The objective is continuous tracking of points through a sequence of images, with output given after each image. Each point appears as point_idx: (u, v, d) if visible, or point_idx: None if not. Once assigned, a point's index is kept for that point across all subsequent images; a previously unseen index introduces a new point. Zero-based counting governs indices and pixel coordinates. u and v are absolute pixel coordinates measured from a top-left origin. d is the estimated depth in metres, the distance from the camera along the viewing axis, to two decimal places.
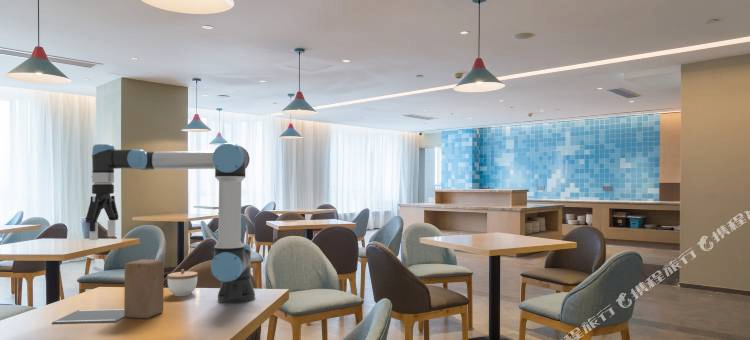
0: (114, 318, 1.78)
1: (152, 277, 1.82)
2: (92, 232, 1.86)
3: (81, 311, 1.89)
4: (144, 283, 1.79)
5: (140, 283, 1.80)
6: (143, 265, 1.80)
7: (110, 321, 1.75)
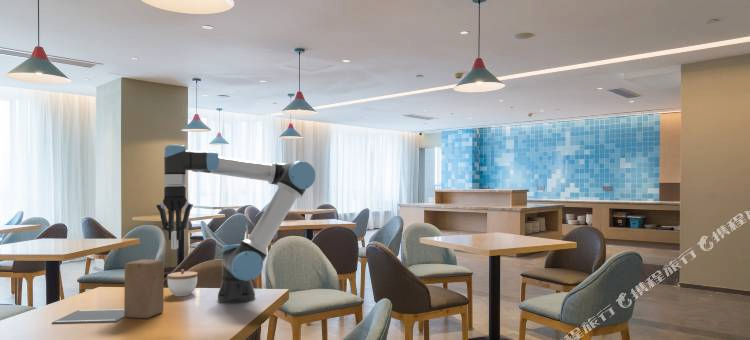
0: (114, 318, 1.78)
1: (152, 277, 1.82)
2: None
3: (81, 311, 1.89)
4: (144, 283, 1.79)
5: (140, 283, 1.80)
6: (143, 265, 1.80)
7: (110, 321, 1.75)
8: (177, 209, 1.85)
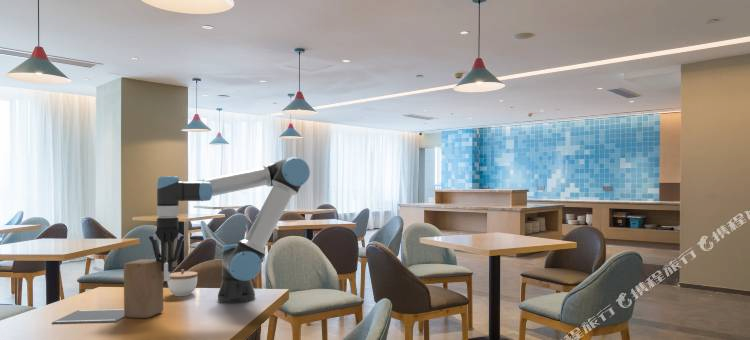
0: (114, 318, 1.78)
1: (151, 276, 1.82)
2: None
3: (81, 311, 1.89)
4: (143, 282, 1.79)
5: (139, 282, 1.80)
6: (142, 265, 1.80)
7: (110, 321, 1.75)
8: (169, 241, 1.84)
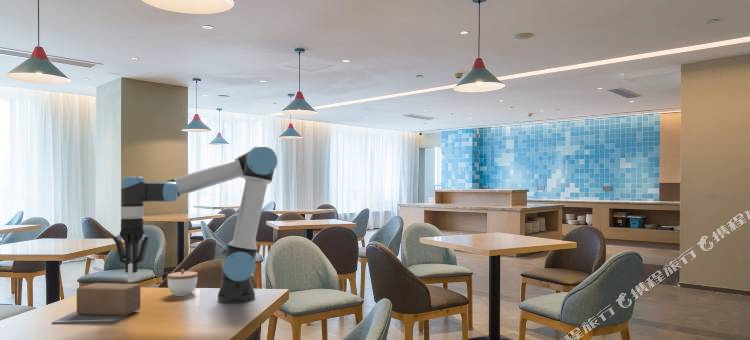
0: (114, 318, 1.78)
1: (93, 286, 1.85)
2: None
3: None
4: (92, 292, 1.83)
5: (92, 296, 1.83)
6: (77, 292, 1.84)
7: (110, 321, 1.75)
8: (134, 241, 1.83)
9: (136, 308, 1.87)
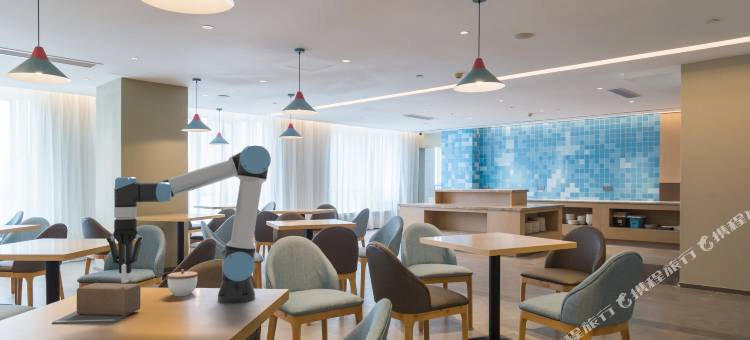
0: (114, 318, 1.78)
1: (93, 286, 1.85)
2: None
3: None
4: (92, 292, 1.83)
5: (92, 296, 1.83)
6: (77, 292, 1.84)
7: (110, 321, 1.75)
8: (127, 242, 1.83)
9: (136, 308, 1.87)
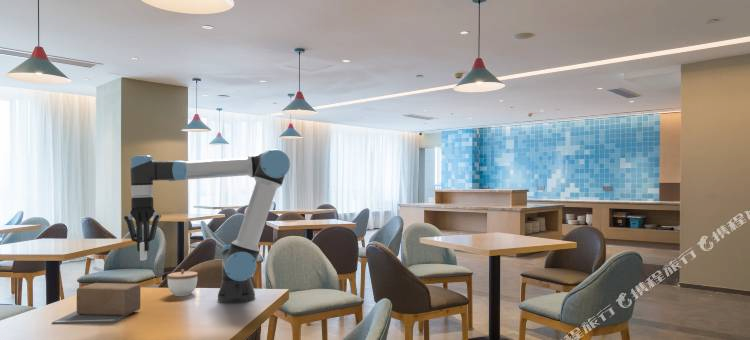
0: (114, 318, 1.78)
1: (93, 286, 1.85)
2: None
3: None
4: (92, 292, 1.83)
5: (92, 296, 1.83)
6: (77, 292, 1.84)
7: (110, 321, 1.75)
8: (144, 220, 1.84)
9: (136, 308, 1.87)
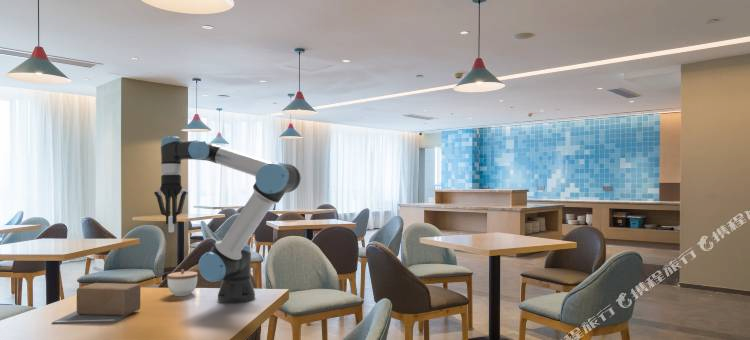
0: (114, 318, 1.78)
1: (93, 286, 1.85)
2: None
3: None
4: (92, 292, 1.83)
5: (92, 296, 1.83)
6: (77, 292, 1.84)
7: (110, 321, 1.75)
8: (173, 195, 2.02)
9: (136, 308, 1.87)
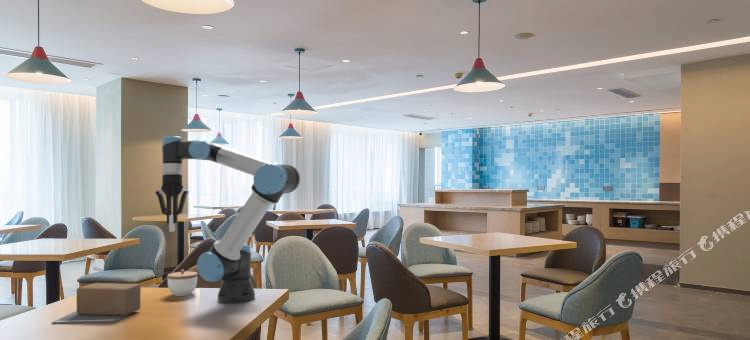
0: (114, 318, 1.78)
1: (93, 286, 1.85)
2: None
3: None
4: (92, 292, 1.83)
5: (92, 296, 1.83)
6: (77, 292, 1.84)
7: (110, 321, 1.75)
8: (174, 195, 2.03)
9: (136, 308, 1.87)
